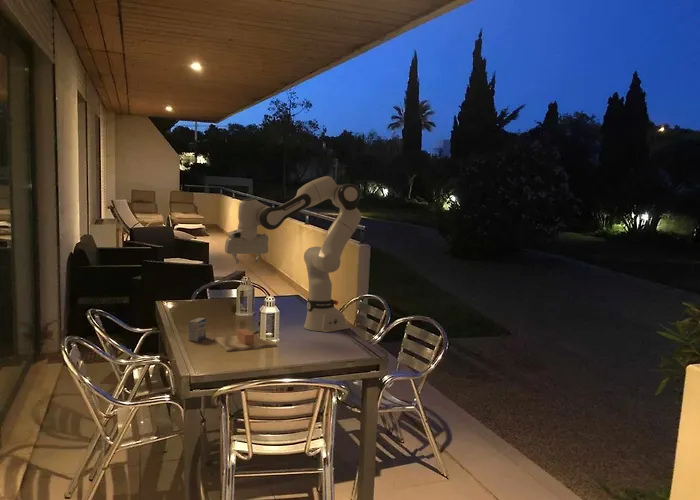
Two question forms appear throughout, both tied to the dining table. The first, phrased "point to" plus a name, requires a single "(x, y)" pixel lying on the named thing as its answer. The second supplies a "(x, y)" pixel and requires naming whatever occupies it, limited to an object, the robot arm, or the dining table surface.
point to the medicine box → (197, 329)
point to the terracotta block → (245, 336)
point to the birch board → (234, 344)
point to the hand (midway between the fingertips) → (246, 263)
